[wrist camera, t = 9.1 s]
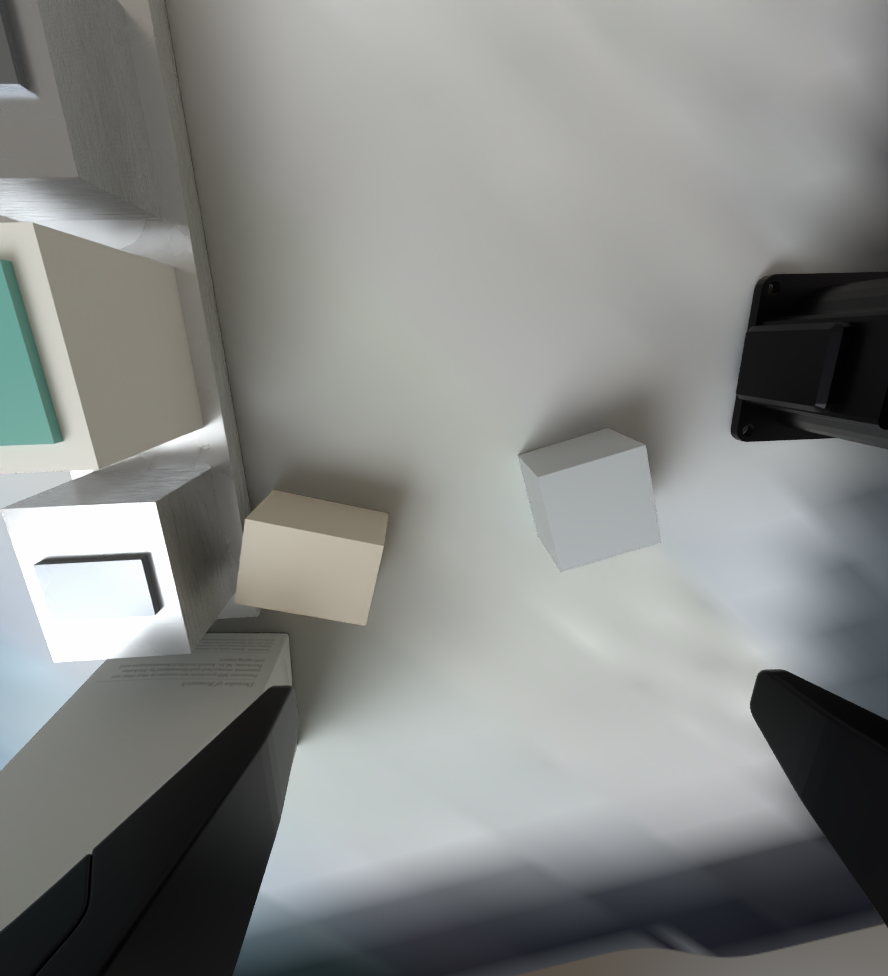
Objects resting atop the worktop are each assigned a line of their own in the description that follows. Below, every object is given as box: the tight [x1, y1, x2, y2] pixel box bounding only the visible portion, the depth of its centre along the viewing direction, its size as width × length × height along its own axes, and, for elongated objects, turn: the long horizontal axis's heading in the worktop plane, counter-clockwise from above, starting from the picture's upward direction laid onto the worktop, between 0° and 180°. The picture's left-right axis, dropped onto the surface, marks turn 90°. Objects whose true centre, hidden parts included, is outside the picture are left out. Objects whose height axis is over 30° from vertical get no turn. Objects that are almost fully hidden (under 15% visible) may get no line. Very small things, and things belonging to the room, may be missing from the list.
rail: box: [0, 0, 262, 662], centre depth 15 cm, size 6×22×6 cm, turn 2°
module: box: [0, 222, 204, 474], centre depth 13 cm, size 4×6×6 cm
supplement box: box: [0, 633, 297, 931], centre depth 16 cm, size 7×7×13 cm
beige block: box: [234, 490, 389, 626], centre depth 19 cm, size 5×4×4 cm
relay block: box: [518, 428, 661, 572], centre depth 19 cm, size 4×4×4 cm
